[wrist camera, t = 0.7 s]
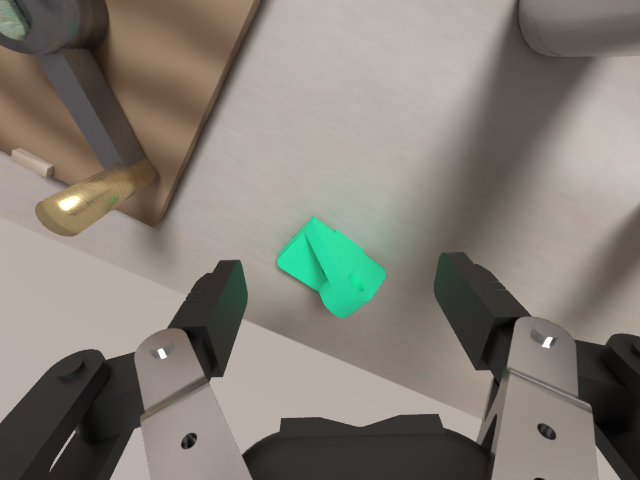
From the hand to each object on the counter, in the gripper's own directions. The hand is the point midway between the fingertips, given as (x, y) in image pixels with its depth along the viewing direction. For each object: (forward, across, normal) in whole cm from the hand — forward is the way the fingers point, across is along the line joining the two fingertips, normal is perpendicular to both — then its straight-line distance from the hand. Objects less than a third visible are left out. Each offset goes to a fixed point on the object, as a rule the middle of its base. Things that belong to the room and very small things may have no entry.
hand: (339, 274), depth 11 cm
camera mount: (+22, 0, +13) cm, 25 cm away
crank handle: (+18, +19, -8) cm, 27 cm away
